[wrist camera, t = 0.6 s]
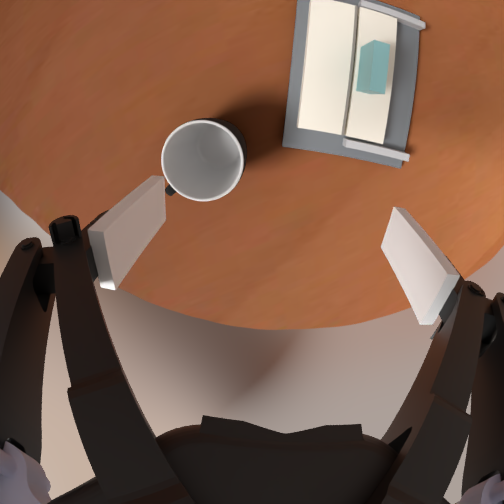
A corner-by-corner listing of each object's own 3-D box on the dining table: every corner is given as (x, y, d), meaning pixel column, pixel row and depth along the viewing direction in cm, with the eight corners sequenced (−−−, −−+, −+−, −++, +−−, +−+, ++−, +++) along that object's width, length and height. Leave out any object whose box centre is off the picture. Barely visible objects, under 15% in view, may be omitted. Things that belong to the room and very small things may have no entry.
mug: (222, 100, 33) (203, 101, 24) (265, 149, 36) (262, 166, 28) (161, 157, 38) (129, 177, 29) (202, 201, 41) (181, 232, 32)
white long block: (355, 11, 23) (372, -6, 17) (391, 21, 23) (414, 9, 17) (342, 133, 33) (357, 142, 26) (377, 141, 33) (398, 152, 26)
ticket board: (298, -14, 23) (300, -24, 20) (416, 18, 23) (427, 13, 20) (282, 145, 36) (282, 149, 33) (397, 166, 35) (407, 173, 32)
